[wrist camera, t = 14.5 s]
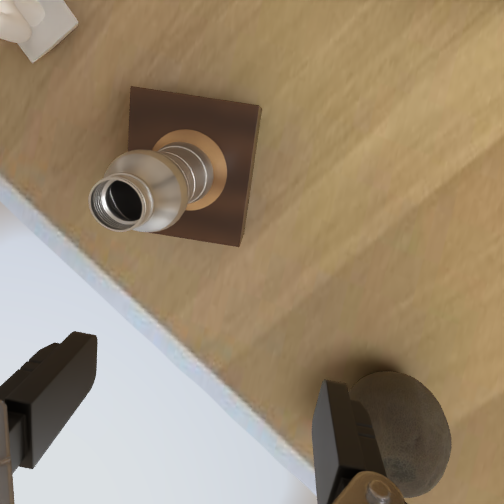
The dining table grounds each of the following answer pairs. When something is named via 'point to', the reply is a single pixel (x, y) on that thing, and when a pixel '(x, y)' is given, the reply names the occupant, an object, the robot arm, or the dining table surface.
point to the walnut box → (213, 145)
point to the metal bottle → (150, 187)
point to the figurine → (35, 24)
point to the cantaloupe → (406, 429)
